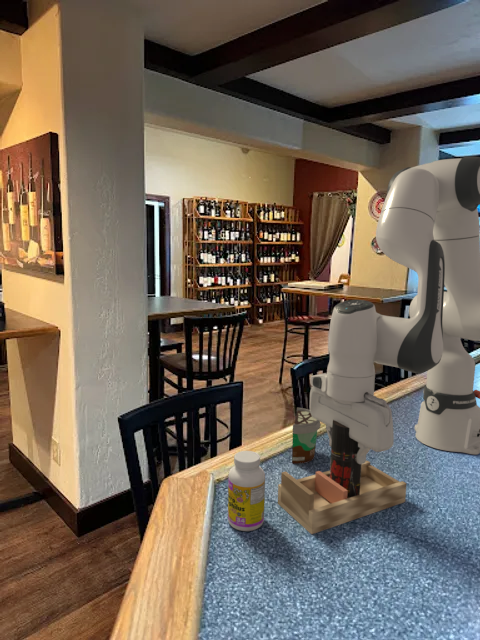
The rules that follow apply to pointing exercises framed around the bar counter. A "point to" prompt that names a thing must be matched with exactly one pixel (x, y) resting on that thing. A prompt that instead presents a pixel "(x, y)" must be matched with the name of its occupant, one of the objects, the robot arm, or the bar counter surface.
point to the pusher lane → (323, 514)
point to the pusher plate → (329, 488)
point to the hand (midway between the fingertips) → (346, 454)
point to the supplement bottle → (246, 492)
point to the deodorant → (344, 460)
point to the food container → (304, 436)
